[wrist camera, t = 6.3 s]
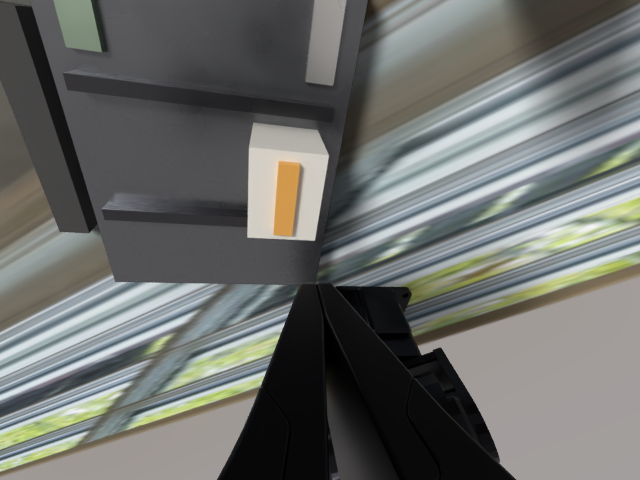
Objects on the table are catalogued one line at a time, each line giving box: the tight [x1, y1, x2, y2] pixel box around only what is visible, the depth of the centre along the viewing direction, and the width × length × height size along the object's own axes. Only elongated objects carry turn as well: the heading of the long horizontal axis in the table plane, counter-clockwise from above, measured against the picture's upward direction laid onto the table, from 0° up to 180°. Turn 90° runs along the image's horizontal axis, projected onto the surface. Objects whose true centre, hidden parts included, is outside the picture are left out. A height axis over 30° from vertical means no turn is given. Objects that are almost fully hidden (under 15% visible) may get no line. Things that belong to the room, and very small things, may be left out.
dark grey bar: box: [0, 1, 98, 233], centre depth 14 cm, size 10×1×1 cm, turn 172°
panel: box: [30, 0, 368, 285], centre depth 15 cm, size 16×12×3 cm
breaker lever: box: [247, 123, 329, 241], centre depth 14 cm, size 4×3×4 cm
